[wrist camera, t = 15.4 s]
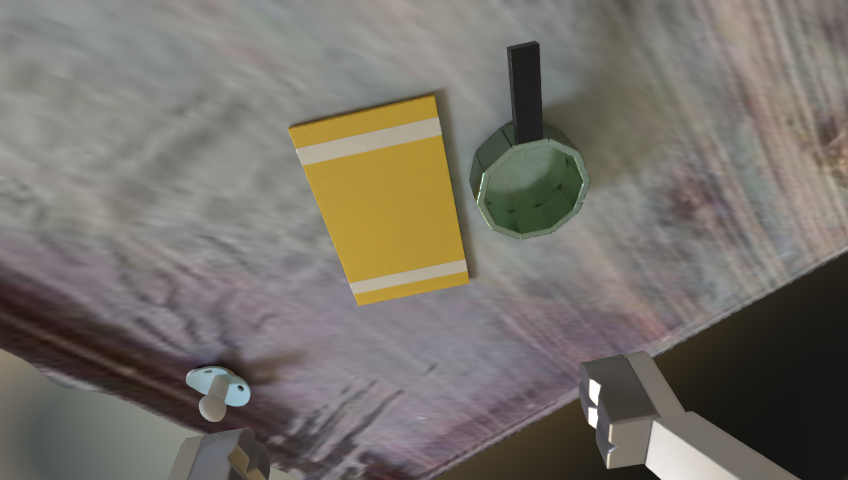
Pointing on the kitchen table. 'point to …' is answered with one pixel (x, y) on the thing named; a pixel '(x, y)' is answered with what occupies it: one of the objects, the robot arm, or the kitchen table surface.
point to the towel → (386, 198)
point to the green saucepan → (528, 161)
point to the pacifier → (218, 390)
